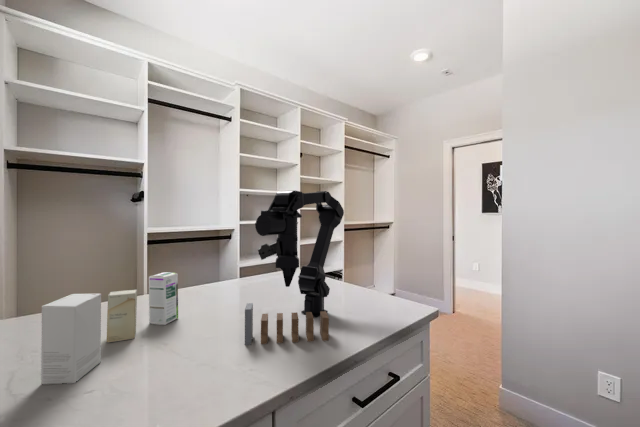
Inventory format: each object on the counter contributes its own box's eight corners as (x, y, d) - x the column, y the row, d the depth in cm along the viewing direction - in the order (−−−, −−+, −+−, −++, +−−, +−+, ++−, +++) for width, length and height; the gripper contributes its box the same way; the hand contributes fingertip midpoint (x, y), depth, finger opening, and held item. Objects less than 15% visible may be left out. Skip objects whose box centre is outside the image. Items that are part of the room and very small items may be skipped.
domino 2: (282, 334, 80) (282, 313, 80) (282, 342, 75) (282, 319, 75) (276, 335, 79) (276, 313, 79) (276, 343, 74) (276, 320, 74)
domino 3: (297, 334, 80) (297, 312, 80) (298, 342, 75) (298, 319, 75) (291, 334, 80) (291, 312, 80) (292, 342, 75) (292, 319, 75)
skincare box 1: (72, 363, 64) (72, 293, 64) (103, 362, 64) (104, 292, 64) (38, 386, 56) (38, 305, 55) (75, 384, 56) (75, 304, 56)
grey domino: (252, 336, 79) (252, 303, 78) (251, 344, 74) (251, 309, 74) (246, 336, 78) (246, 303, 78) (244, 344, 73) (244, 309, 73)
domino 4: (311, 333, 81) (311, 311, 81) (313, 341, 76) (313, 318, 76) (305, 333, 80) (305, 312, 80) (307, 341, 76) (307, 318, 75)
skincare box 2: (106, 343, 73) (106, 295, 73) (109, 336, 77) (109, 291, 77) (135, 338, 76) (135, 292, 76) (137, 332, 80) (137, 288, 80)
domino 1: (267, 335, 79) (268, 313, 79) (267, 343, 74) (267, 320, 74) (262, 335, 79) (262, 313, 79) (260, 344, 74) (260, 320, 74)
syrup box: (165, 325, 85) (165, 276, 85) (148, 323, 86) (148, 275, 86) (178, 318, 91) (178, 272, 91) (162, 317, 92) (162, 271, 92)
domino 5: (325, 332, 81) (325, 311, 81) (328, 340, 76) (328, 317, 76) (320, 332, 81) (320, 311, 81) (322, 340, 76) (322, 318, 76)
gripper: (262, 231, 93) (262, 279, 93) (256, 236, 75) (256, 296, 75) (297, 231, 94) (297, 278, 95) (299, 236, 76) (299, 295, 76)
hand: (287, 286), depth 85 cm, fingers closed
